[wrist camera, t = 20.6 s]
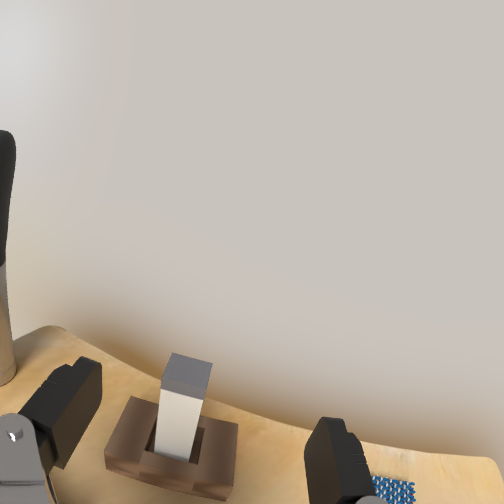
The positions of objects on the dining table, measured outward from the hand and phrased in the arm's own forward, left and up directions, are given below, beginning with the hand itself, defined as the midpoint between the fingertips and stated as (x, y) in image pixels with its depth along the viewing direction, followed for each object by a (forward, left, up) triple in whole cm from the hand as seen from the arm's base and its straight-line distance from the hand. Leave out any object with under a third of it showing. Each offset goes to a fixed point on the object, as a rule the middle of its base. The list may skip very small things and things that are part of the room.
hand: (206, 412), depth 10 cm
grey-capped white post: (-2, +16, -25) cm, 30 cm away
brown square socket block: (-2, +16, -26) cm, 31 cm away
